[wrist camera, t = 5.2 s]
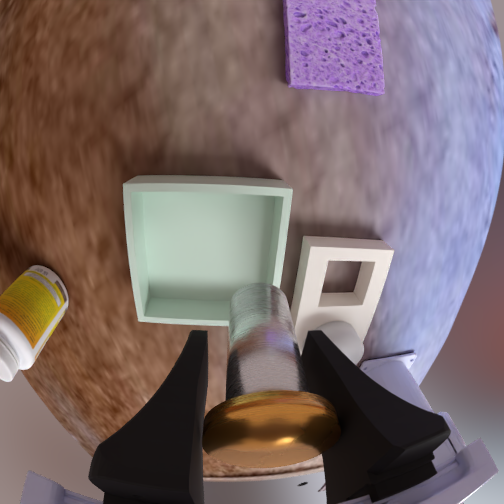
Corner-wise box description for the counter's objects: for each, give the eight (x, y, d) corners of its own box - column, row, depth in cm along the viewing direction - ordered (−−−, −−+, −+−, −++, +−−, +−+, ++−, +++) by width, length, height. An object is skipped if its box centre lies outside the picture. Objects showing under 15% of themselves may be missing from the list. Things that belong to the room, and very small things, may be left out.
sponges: (360, -29, 12) (369, -37, 10) (374, 99, 17) (387, 97, 15) (276, -44, 11) (280, -55, 9) (284, 89, 16) (289, 85, 15)
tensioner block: (347, 348, 26) (364, 383, 22) (281, 353, 25) (291, 392, 21) (382, 240, 21) (413, 267, 17) (303, 235, 20) (323, 265, 16)
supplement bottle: (27, 253, 19) (-41, 318, 9) (73, 277, 20) (14, 358, 11) (26, 298, 21) (-25, 365, 11) (69, 322, 22) (25, 400, 13)
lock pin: (294, 339, 15) (320, 463, 8) (216, 337, 15) (206, 466, 8) (307, 271, 13) (360, 405, 6) (216, 267, 13) (196, 411, 6)
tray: (268, 303, 23) (273, 326, 20) (147, 298, 22) (138, 321, 19) (283, 179, 19) (293, 189, 16) (137, 175, 17) (122, 183, 15)
